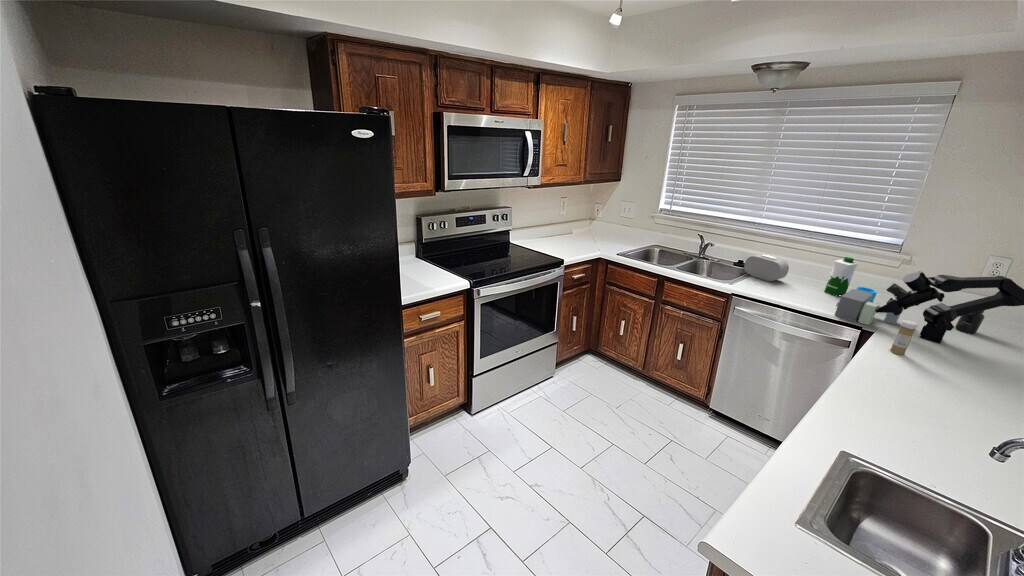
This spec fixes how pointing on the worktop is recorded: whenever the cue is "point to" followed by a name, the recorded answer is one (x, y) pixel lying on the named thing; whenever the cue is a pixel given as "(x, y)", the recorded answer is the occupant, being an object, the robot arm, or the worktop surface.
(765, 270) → the grey rounded oblong block
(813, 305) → the worktop surface
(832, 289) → the milk carton
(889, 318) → the grey key
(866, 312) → the green key
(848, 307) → the grey curved block
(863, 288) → the mug
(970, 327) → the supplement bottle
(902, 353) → the sprinkles bottle
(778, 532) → the worktop surface
